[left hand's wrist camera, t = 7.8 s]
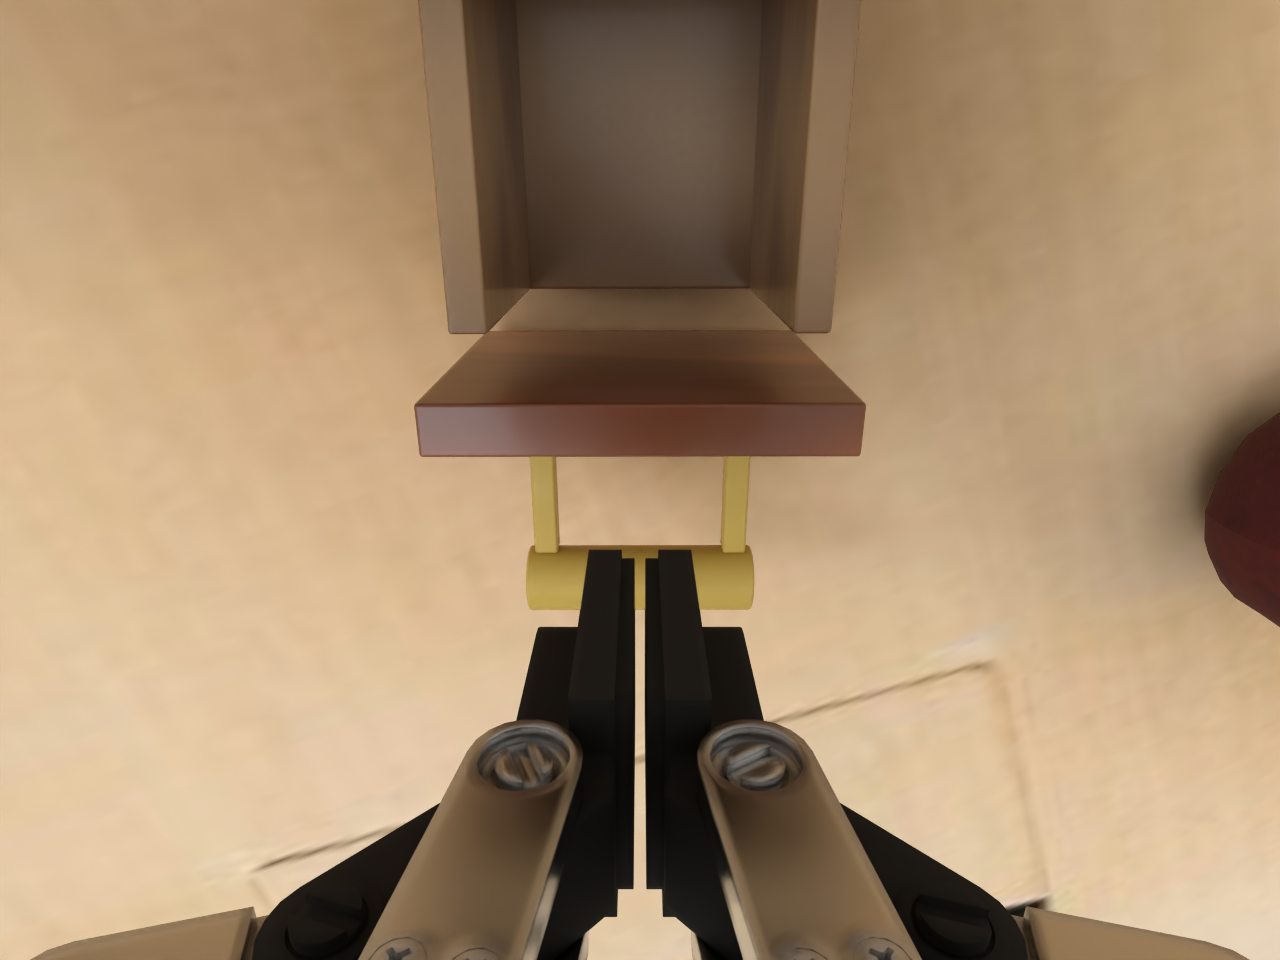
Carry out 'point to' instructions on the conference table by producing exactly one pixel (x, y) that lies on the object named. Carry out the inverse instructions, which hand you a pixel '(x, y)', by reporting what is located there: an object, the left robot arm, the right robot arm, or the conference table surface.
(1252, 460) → the dark maroon ball
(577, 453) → the drawer
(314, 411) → the conference table surface
